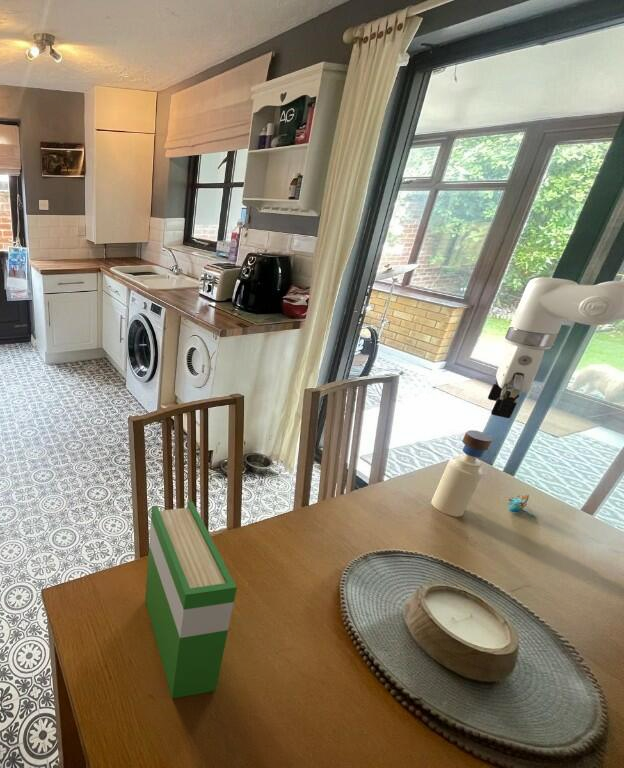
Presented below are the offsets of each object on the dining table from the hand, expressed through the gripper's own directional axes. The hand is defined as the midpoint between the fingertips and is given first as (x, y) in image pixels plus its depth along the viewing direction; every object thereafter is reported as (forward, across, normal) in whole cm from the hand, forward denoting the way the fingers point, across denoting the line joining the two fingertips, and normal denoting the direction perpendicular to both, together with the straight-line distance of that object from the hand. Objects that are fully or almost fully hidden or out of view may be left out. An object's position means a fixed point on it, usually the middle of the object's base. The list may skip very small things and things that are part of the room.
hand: (498, 408), depth 95 cm
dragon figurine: (+30, +11, -14) cm, 35 cm away
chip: (+10, -1, +1) cm, 10 cm away
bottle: (+30, 0, +1) cm, 30 cm away
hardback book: (+30, -75, +41) cm, 91 cm away
